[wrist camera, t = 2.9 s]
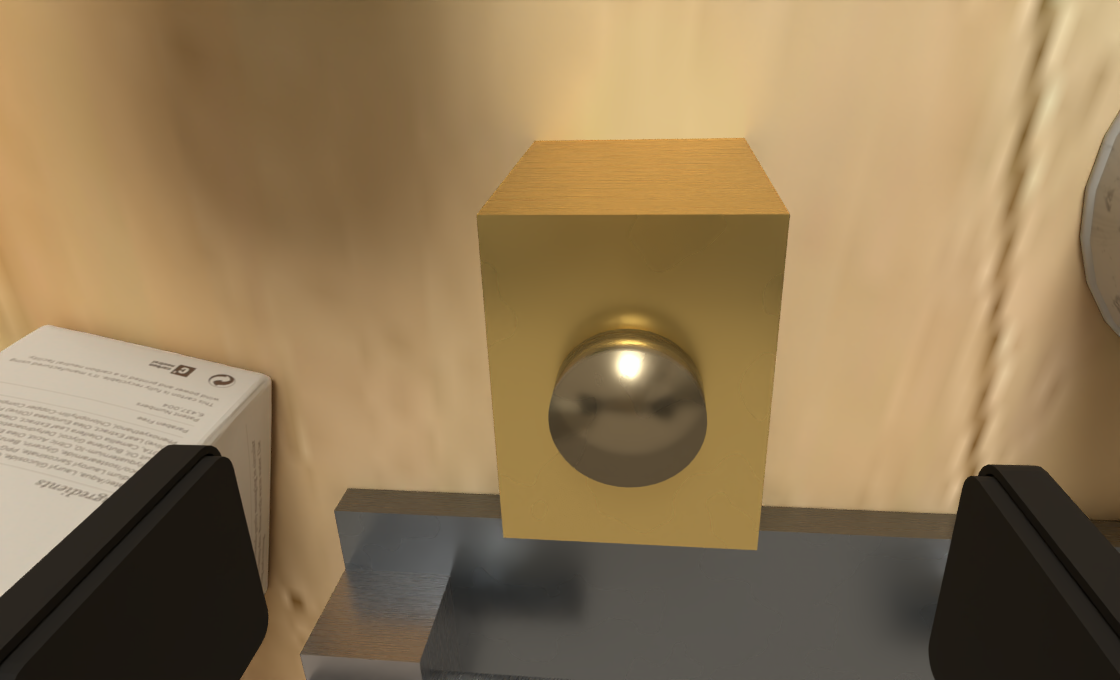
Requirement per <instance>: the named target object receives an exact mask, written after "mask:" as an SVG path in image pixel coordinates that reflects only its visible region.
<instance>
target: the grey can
mask: <svg viewBox="0 0 1120 680" xmlns="http://www.w3.org/2000/svg"><path fill="white" fill-rule="evenodd" d="M1080 241H1081V248H1082V255H1083V262H1084V268H1085V275H1086V282H1087V284H1088V286H1089V288H1090V291H1091V293H1092V295H1093V297H1094V299H1095V301H1096V303H1097V306H1098V308H1099V310H1100V312H1101V314H1102V316H1103V318H1104V320H1105V322H1106V323H1107V324H1108V325H1109V326H1110V327H1111V328H1112V329H1113V330H1114V331H1115V333H1116V334H1117V335H1118V336H1119V337H1120V111H1119V113H1118V114H1117V116H1116V118H1115V119H1114V121H1113V122H1112V124H1111V126H1110V127H1109V129H1108V131H1107V132H1106V134H1105V136H1104V139H1103V141H1102V144H1101V147H1100V150H1099V152H1098V155H1097V158H1096V161H1095V163H1094V166H1093V169H1092V172H1091V174H1090V177H1089V180H1088V183H1087V185H1086V190H1085V198H1084V206H1083V214H1082V223H1081V231H1080Z"/></svg>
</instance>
